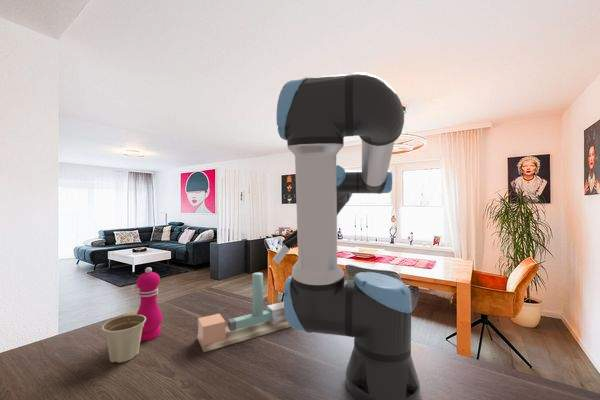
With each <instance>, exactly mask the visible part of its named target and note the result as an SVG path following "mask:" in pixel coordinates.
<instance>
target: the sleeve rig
mask: <svg viewBox="0 0 600 400" xmlns="http://www.w3.org/2000/svg"><path fill="white" fill-rule="evenodd" d="M266 310H270V311H272V320H271V321H267V322H263V323H259V324H256V325H252V326H248V327H245V328H241V329H237V330H234V331H230V330H229V329H228V326H225V340H222V341H219V342H215V343H211V344H208V345H204V346H203V345H202V343H201V341H200V339H199V337H198V333H197V337H196V338H197V341H198V343H199V345H200V348H201V350H202V352H203V353H206V352H210V351H212V350H213V351H214V350H216V349H219V348H223V347H227V346H230V345H233V344H236V343H240V342H243V341H247V340H250V339H254V338H258V337H260V336H264V335H268V334H270V333H274V332H277V331H281V330H284V329H288V328H292V327H291V326H290V325H289V323H288V322H287V319H286V316H285V311H284V302H283V301H281V302H277V303H272V304H269V305H267V304H266Z"/></svg>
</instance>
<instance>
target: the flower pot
mask: <svg viewBox="0 0 600 400" xmlns="http://www.w3.org/2000/svg"><path fill="white" fill-rule="evenodd" d="M145 321H146V317H145V316H143V315H136V314H126V315H122V316H118V317H115V318H112V319H109V320H108V321H106V322H105V323H104V324H102V326H101V330H102V331H103V333H104V336H105V338H106V344H107V351H108V352H107V353H108V356H109V361H110V363H118V364H119V363H125V362H128V361H131V360H132V359H134V358H135V357H136V356H137V355H139V352H140V345H141V341H140V340H141V334H142V328H143V326H144V323H145Z"/></svg>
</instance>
